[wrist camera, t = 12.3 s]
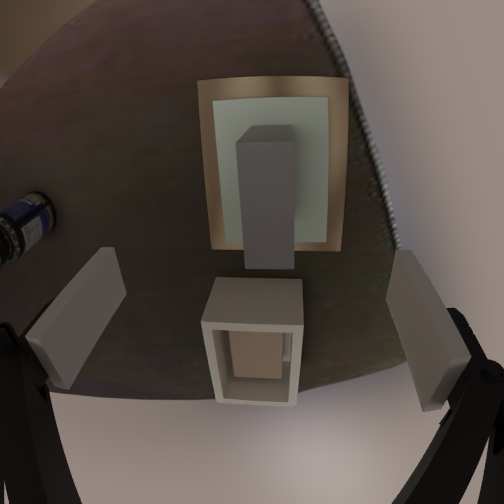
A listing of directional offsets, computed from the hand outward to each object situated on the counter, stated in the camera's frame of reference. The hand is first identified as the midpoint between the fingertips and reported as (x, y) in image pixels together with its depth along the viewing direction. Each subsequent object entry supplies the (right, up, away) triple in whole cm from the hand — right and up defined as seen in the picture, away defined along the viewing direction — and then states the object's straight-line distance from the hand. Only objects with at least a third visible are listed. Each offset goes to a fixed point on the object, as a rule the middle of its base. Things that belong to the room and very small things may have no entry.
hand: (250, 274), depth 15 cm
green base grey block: (+2, +9, +15) cm, 18 cm away
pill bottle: (-28, +6, +22) cm, 37 cm away
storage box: (+1, -8, +27) cm, 28 cm away
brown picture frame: (+2, +9, +17) cm, 19 cm away
